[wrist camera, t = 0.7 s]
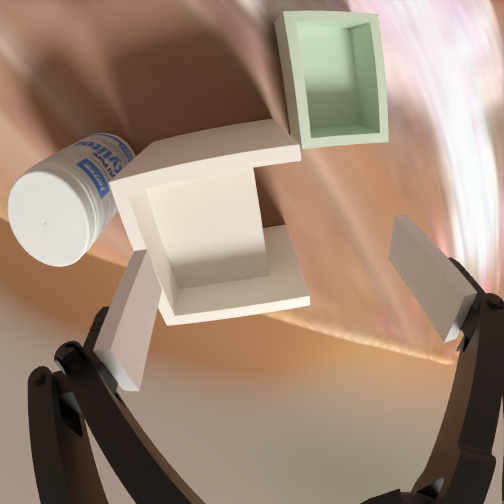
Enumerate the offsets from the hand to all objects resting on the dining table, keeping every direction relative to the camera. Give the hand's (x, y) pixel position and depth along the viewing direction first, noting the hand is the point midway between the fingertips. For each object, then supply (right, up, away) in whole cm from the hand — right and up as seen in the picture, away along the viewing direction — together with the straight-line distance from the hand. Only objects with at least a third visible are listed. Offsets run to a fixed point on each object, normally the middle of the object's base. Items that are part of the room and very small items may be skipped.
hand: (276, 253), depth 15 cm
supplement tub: (-19, +11, +18) cm, 28 cm away
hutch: (-5, +8, +20) cm, 22 cm away
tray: (+7, +20, +13) cm, 25 cm away
